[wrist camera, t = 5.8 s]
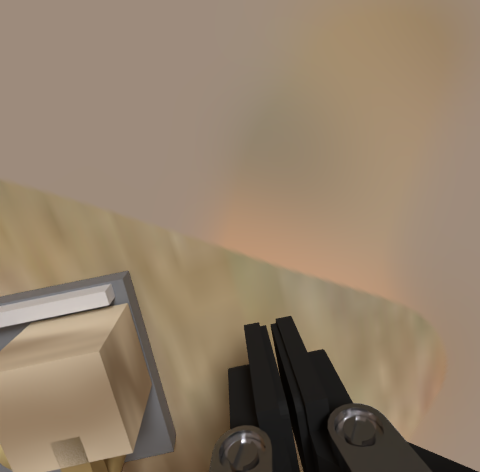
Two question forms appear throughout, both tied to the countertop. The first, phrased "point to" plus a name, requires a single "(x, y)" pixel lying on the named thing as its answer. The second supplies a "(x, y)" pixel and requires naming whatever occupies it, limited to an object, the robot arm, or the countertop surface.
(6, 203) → the countertop surface
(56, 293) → the switch panel
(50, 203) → the countertop surface
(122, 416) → the tan slider block
